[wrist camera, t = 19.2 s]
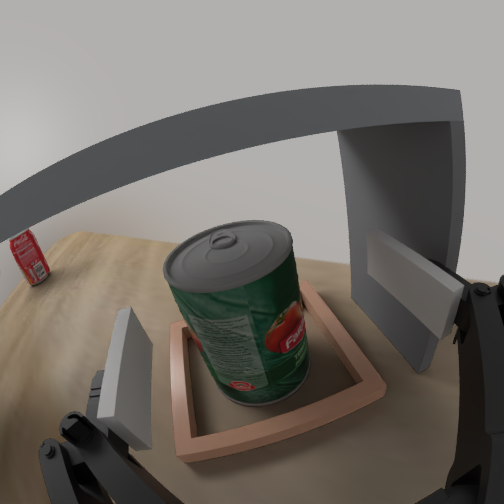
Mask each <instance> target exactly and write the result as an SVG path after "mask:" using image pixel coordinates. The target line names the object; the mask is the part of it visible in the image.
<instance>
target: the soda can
mask: <svg viewBox="0 0 504 504" xmlns="http://www.w3.org/2000/svg"><path fill="white" fill-rule="evenodd" d="M9 241H10V249H11V251H12V253H13V256H14V258H15V260H16V262H17V264H18V266H19V268H20V270H21V272H22V274H23V276H24V278H25V280H26V281H27V283H28V284H29V285H37V284H39V283H40V282H42V281H43V280H44V279H46V278H47V276H48V273H49V271H50V269H49V267H48V264H47V262H46V260H45V257H44V255H43V253H42V251H41V249H40V247H39V245H38V242H37V240H36V238H35V236H34V234H33V233H32V232H31V231H30V230H29V228H27V229H25V230H23V231H21V232H19V233H18V234H16V235H14V236H12V237H11V238H10V239H9Z"/></svg>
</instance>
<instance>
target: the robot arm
mask: <svg viewBox="0 0 504 504" xmlns="http://www.w3.org/2000/svg"><path fill="white" fill-rule="evenodd" d="M367 273H368V274H369V275H370V276H371V277H372V278H374V279H375V280H376V281H377V282H378V283H379V284H380V285H382V286H383V287H384V288H385V289H386V290H387V291H388V292H389V293H391V294H392V295H393V296H394V297H395V298H396V299H397V300H398V301H399V302H400V303H402V304H403V305H404V306H405V307H406V308H407V309H408V310H409V311H410V312H411V313H412V314H414V315H415V316H416V317H417V318H418V319H419V320H420V321H421V322H422V323H423V324H424V325H425V326H426V327H427V328H428V329H429V330H430V331H431V332H432V333H434V334H435V335H436V336H437V337H438V338H439V339H440V340H441V339H443V338H444V337H446V336H447V335H449V334H450V333H451V331H452V328H453V325H454V323H455V324H456V325H457V326H458V329H457V332H456V335H455V337H454V340H453V344H455V342H456V340H457V341H458V354H459V376H460V401H459V423H458V435H457V445H456V453H455V459H454V463H453V465H452V467H451V469H450V471H449V474H448V477H447V480H446V485H445V489H442V488H440V489H439V490H437V491H436V492H434V493H432V494H430V495H429V496H427V497H425V498H424V499H422V500H420V501H418V502H417V503H415V504H504V275H502V277H501V278H500V281H499V284H498V285H496V286H493V287H489V286H488V285H486V284H484V283H480V282H478V283H473V284H470V283H469V282H468V281H466V280H465V279H463V278H462V277H460V276H459V275H458V274H456V273H455V272H453V271H451V270H450V269H449V268H446V266H444V265H443V264H441V263H440V262H438V261H435V260H432V259H426V258H424V257H423V256H421V255H420V254H418V253H416V252H415V251H413V250H412V249H410V248H409V247H407V246H406V245H404V244H402V243H401V242H399V241H398V240H396V239H394V238H393V237H391V236H389V235H388V234H386V233H384V232H383V231H381V230H379V229H378V228H377V229H374V230H371V231H368V232H367ZM152 347H153V344H152V343H151V341H150V339H149V338H148V336H147V334H146V332H145V331H144V329H143V327H142V325H141V324H140V322H139V320H138V318H137V317H136V315H135V313H134V311H133V309H132V307H128V308H124V309H121V310H118V314H117V318H116V322H115V325H114V330H113V334H112V338H111V342H110V347H109V351H108V356H107V361H106V366H105V370H100V371H97V373H96V375H95V376H94V378H93V380H92V384H91V391H90V394H89V397H90V398H89V400H88V405H87V411H86V417H85V416H83V415H82V414H81V413H80V412H76V411H75V412H70V413H69V414H67V415H66V416H65V417H64V418H63V419H62V421H61V423H60V428H59V431H60V434H61V436H63V437H64V438H65V439H66V440H68V441H66V442H64V443H61V444H60V443H59V442H57V441H56V440H55V439H51V438H50V439H46V440H45V441H44V442H43V443H42V444H41V446H40V448H39V459H40V464H41V468H42V473H43V477H44V480H45V484H46V488H47V491H48V494H49V498H50V501H51V504H113V503H112V501H111V499H110V497H109V495H110V496H111V497H112V499H113V500H114V501H115V502H116V503H117V504H184V503H183V502H182V501H180V500H179V499H178V498H177V497H175V496H174V495H173V494H172V493H171V492H170V491H168V490H167V489H166V488H165V487H164V486H163V485H162V484H161V483H159V482H158V481H157V480H156V479H155V478H154V477H153V476H152V475H151V474H150V473H149V472H148V471H147V470H146V469H145V468H144V467H143V466H142V465H141V464H140V463H139V462H138V461H137V460H136V459H135V458H134V457H133V456H132V455H131V454H129V453H128V447H129V446H130V447H131V448H133V449H134V450H135V451H139V450H149V449H152V443H151V369H152ZM108 494H109V495H108Z"/></svg>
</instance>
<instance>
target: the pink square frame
mask: <svg viewBox="0 0 504 504" xmlns="http://www.w3.org/2000/svg"><path fill="white" fill-rule="evenodd" d="M299 286H300V294H301V301H302V302H303V304H304V305H305V307H306V308H307V310H308V311H309V313H310V314H311V316H312V317H313V319H314V320H315V322H316V323H317V325H318V326H319V328H320V329H321V331H322V332H323V334H324V335H325V337H326V338H327V340H328V341H329V343H330V344H331V346H332V347H333V349H334V350H335V352H336V353H337V355H338V356H339V358H340V359H341V361H342V362H343V364H344V365H345V367H346V368H347V370H348V372H349V373H350V375H351V376H352V378H353V379H354V381H355V382H356V385H354V386H352V387H350V388H347V389H345V390H343V391H341V392H338V393H336V394H334V395H331V396H329V397H327V398H324V399H322V400H319V401H317V402H314V403H312V404H309V405H307V406H304V407H301V408H299V409H296V410H293V411H290V412H288V413H285V414H282V415H279V416H276V417H273V418H269V419H266V420H263V421H260V422H256V423H253V424H250V425H246V426H242V427H239V428H235V429H231V430H227V431H223V432H219V433H214V434H210V435H205V436H200V437H198V435H197V428H196V420H195V413H194V405H193V396H192V387H191V378H190V368H189V357H188V344H187V339H188V338H192V334H191V332H190V331H189V329H188V326H187V324H186V322H185V321H184V320H181V321H177V322H174V323H170V367H171V395H172V413H173V428H174V440H175V450H176V456H177V457H178V458H179V459H181V460H182V461H183V462H184V463H190V462H196V461H202V460H207V459H212V458H217V457H222V456H227V455H231V454H235V453H239V452H243V451H247V450H251V449H255V448H258V447H262V446H265V445H268V444H272V443H275V442H278V441H281V440H284V439H287V438H290V437H293V436H296V435H299V434H301V433H304V432H307V431H310V430H312V429H315V428H317V427H320V426H322V425H325V424H327V423H329V422H332V421H334V420H336V419H339V418H341V417H343V416H345V415H348V414H350V413H352V412H354V411H356V410H358V409H360V408H362V407H364V406H366V405H368V404H370V403H372V402H374V401H376V400H378V399H380V398H382V397H384V394H385V391H386V387H387V385H386V383H385V382H384V380H383V379H382V378H381V376H380V375H379V374H378V372H377V371H376V370H375V368H374V367H373V366H372V364H371V363H370V361H369V360H368V359H367V357H366V356H365V355H364V353H363V352H362V351H361V349H360V348H359V347H358V345H357V344H356V343H355V342H354V340H353V339H352V338H351V336H350V335H349V334H348V332H347V331H346V330H345V328H344V327H343V326H342V324H341V323H340V322H339V321H338V319H337V318H336V317H335V315H334V314H333V313H332V311H331V310H330V309H329V308H328V306H327V305H326V304H325V302H324V301H323V300H322V299H321V297H320V296H319V295H318V293H317V292H316V291H315V290H314V288H313V287H312V286H311V284H310V283H309V282H308V281H304V282H302V283H299Z"/></svg>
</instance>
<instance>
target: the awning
mask: <svg viewBox="0 0 504 504" xmlns="http://www.w3.org/2000/svg"><path fill="white" fill-rule="evenodd" d="M331 131H337V134H338V141H339V147H340V154H341V161H342V168H343V176H344V185H345V195H346V203H347V215H348V228H349V244H350V264H351V298H352V299H353V300H354V301H355V302H356V304H357V305H358V306H359V307H360V308H361V309H362V310H363V311H364V312H365V313H366V315H367V316H368V317H369V318H370V319H371V320H372V321H373V322H374V323H375V325H376V326H377V327H378V328H379V329H380V330H381V331H382V332H383V334H384V335H385V336H386V337H387V338H388V339H389V340H390V342H391V343H392V344H393V345H394V346H395V347H396V348H397V350H398V351H399V352H400V353H401V354H402V355H403V357H404V358H405V359H406V360H407V361H408V362H409V364H410V365H411V366H412V367H413V368H414V369H415V371H416V372H417V373H420V372H422V371H423V370H425V369H426V368H428V367H429V366H430V364H431V361H432V358H433V355H434V352H435V349H436V346H437V343H438V340H439V338H438V337H437V336H436V335H435V334H434V333H432V332H431V331H430V330H429V329H428V328H427V327H426V326H425V325H424V324H423V323H422V322H421V321H420V320H419V319H418V318H417V317H416V316H415V315H414V314H412V313H411V312H410V311H409V310H408V309H407V308H406V307H405V306H404V305H403V304H402V303H400V302H399V301H398V300H397V299H396V298H395V297H394V296H393V295H392V294H391V293H389V292H388V291H387V290H386V289H385V288H384V287H383V286H382V285H380V284H379V283H378V282H377V281H376V280H375V279H374V278H372V277H371V276H370V275H369V274H368V273H367V232H368V231H371V230H374V229H377V228H378V229H379V230H381V231H383V232H384V233H386V234H388V235H389V236H391V237H393V238H394V239H396V240H398V241H399V242H401V243H402V244H404V245H406V246H407V247H409V248H410V249H412V250H413V251H415V252H416V253H418V254H420V255H421V256H423V257H424V258H426V259H432V260H435V261H438V262H440V263H441V264H443V265H444V266H446V268H449V269H450V270H451V271H453V272H455V273H456V268H457V262H458V256H459V250H460V243H461V235H462V227H463V217H464V204H465V183H466V182H465V181H466V180H465V179H466V155H465V132H464V121H463V111H462V103H461V95H460V90H454V89H445V88H436V87H425V86H408V85H348V86H331V87H319V88H308V89H299V90H291V91H284V92H277V93H270V94H264V95H258V96H252V97H247V98H242V99H237V100H232V101H228V102H223V103H219V104H215V105H210V106H206V107H203V108H199V109H195V110H191V111H188V112H184V113H181V114H177V115H174V116H171V117H167V118H164V119H161V120H158V121H155V122H152V123H149V124H146V125H143V126H140V127H137V128H135V129H132V130H129V131H127V132H124V133H121V134H119V135H116V136H114V137H112V138H109V139H106V140H104V141H102V142H99V143H97V144H95V145H92V146H90V147H88V148H86V149H83V150H81V151H79V152H77V153H75V154H73V155H71V156H69V157H67V158H65V159H63V160H61V161H59V162H57V163H55V164H53V165H51V166H49V167H47V168H46V169H44V170H42V171H40V172H38V173H37V174H35V175H33V176H31V177H29V178H28V179H26V180H24V181H23V182H21V183H19V184H18V185H16V186H14V187H13V188H11V189H10V190H8V191H6V192H5V193H3V194H2V195H0V243H1V242H3V241H5V240H7V239H8V238H10V237H12V236H14V235H16V234H18V233H19V232H21V231H23V230H25V229H27V228H29V227H31V226H33V225H35V224H37V223H39V222H41V221H43V220H45V219H47V218H49V217H51V216H53V215H56V214H58V213H60V212H62V211H64V210H66V209H69V208H71V207H73V206H75V205H78V204H80V203H82V202H85V201H87V200H89V199H92V198H94V197H97V196H99V195H101V194H104V193H106V192H109V191H112V190H114V189H117V188H119V187H122V186H124V185H127V184H130V183H133V182H135V181H138V180H141V179H144V178H147V177H150V176H152V175H155V174H158V173H161V172H165V171H167V170H170V169H174V168H177V167H180V166H183V165H187V164H190V163H193V162H196V161H200V160H204V159H207V158H210V157H214V156H218V155H222V154H225V153H229V152H233V151H237V150H241V149H245V148H249V147H254V146H258V145H263V144H267V143H271V142H276V141H281V140H286V139H291V138H296V137H302V136H307V135H312V134H319V133H325V132H331Z"/></svg>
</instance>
